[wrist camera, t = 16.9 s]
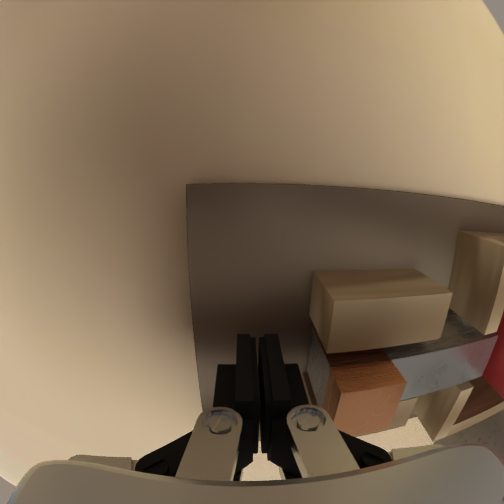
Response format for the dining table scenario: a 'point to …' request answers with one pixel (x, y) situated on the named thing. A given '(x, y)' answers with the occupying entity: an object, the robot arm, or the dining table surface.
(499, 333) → the beer can
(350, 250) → the dock
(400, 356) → the copper-tipped grey bar
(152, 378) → the dining table surface
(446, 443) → the thermos bottle
